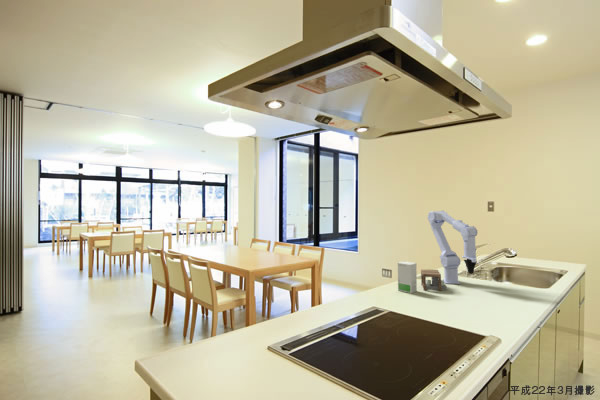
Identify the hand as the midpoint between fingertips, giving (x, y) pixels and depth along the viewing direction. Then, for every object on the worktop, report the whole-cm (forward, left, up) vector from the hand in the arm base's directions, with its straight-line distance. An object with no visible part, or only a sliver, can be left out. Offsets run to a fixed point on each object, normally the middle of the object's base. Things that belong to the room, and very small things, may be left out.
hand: (470, 273), depth 175 cm
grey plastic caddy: (+2, -19, -9) cm, 21 cm away
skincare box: (+10, -34, -9) cm, 36 cm away
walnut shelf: (+2, -21, -8) cm, 23 cm away
